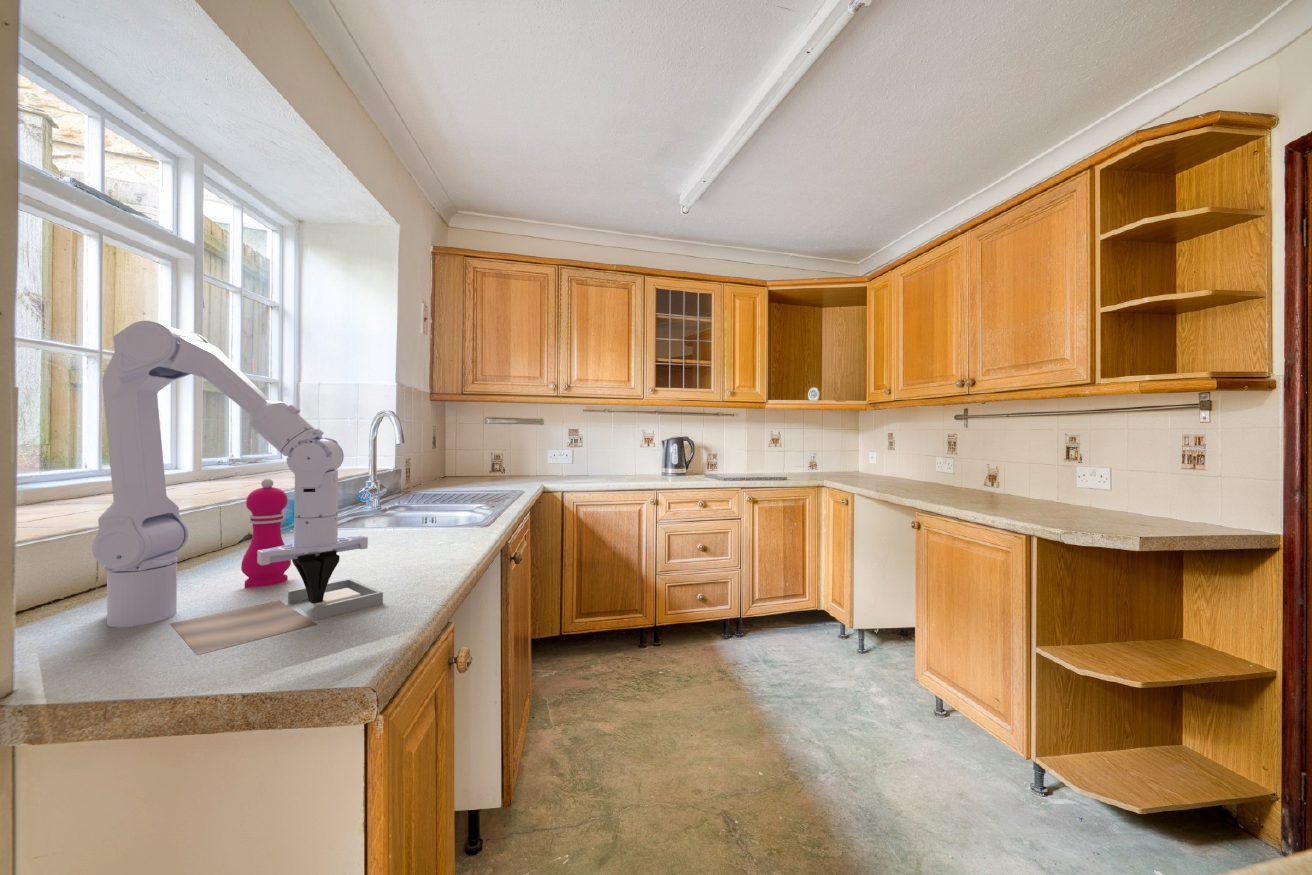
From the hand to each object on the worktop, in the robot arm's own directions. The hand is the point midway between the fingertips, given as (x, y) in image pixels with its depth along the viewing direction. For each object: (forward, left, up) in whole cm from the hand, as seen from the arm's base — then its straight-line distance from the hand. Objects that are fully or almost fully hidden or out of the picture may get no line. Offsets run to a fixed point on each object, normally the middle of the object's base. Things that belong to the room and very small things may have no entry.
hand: (315, 601), depth 80 cm
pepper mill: (-22, 0, -2) cm, 22 cm away
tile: (0, +3, -2) cm, 4 cm away
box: (0, +3, -2) cm, 3 cm away
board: (0, -9, -2) cm, 9 cm away
